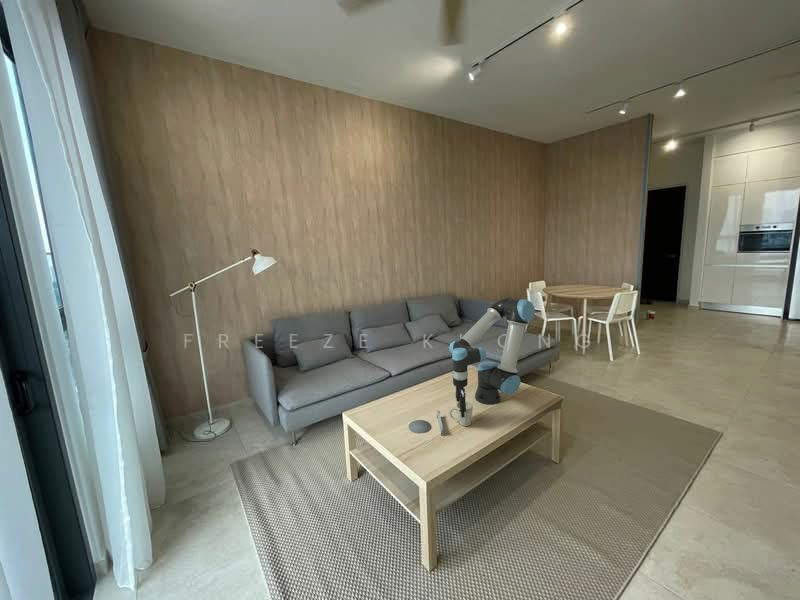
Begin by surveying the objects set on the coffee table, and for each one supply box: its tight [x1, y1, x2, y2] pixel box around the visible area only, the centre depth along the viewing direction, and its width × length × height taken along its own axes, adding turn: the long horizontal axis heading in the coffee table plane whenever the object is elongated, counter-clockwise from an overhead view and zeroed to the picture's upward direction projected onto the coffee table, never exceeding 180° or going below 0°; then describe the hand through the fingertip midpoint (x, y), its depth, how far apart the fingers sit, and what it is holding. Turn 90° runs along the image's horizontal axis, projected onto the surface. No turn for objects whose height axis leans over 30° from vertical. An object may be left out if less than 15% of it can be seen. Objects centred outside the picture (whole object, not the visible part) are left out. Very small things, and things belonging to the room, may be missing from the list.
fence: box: [436, 410, 445, 437], centre depth 168 cm, size 2×18×4 cm, turn 0°
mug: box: [448, 401, 474, 427], centre depth 169 cm, size 8×13×10 cm, turn 78°
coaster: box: [408, 419, 432, 434], centre depth 169 cm, size 12×12×1 cm
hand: (460, 417), depth 169 cm, fingers closed on mug, 8 cm apart
